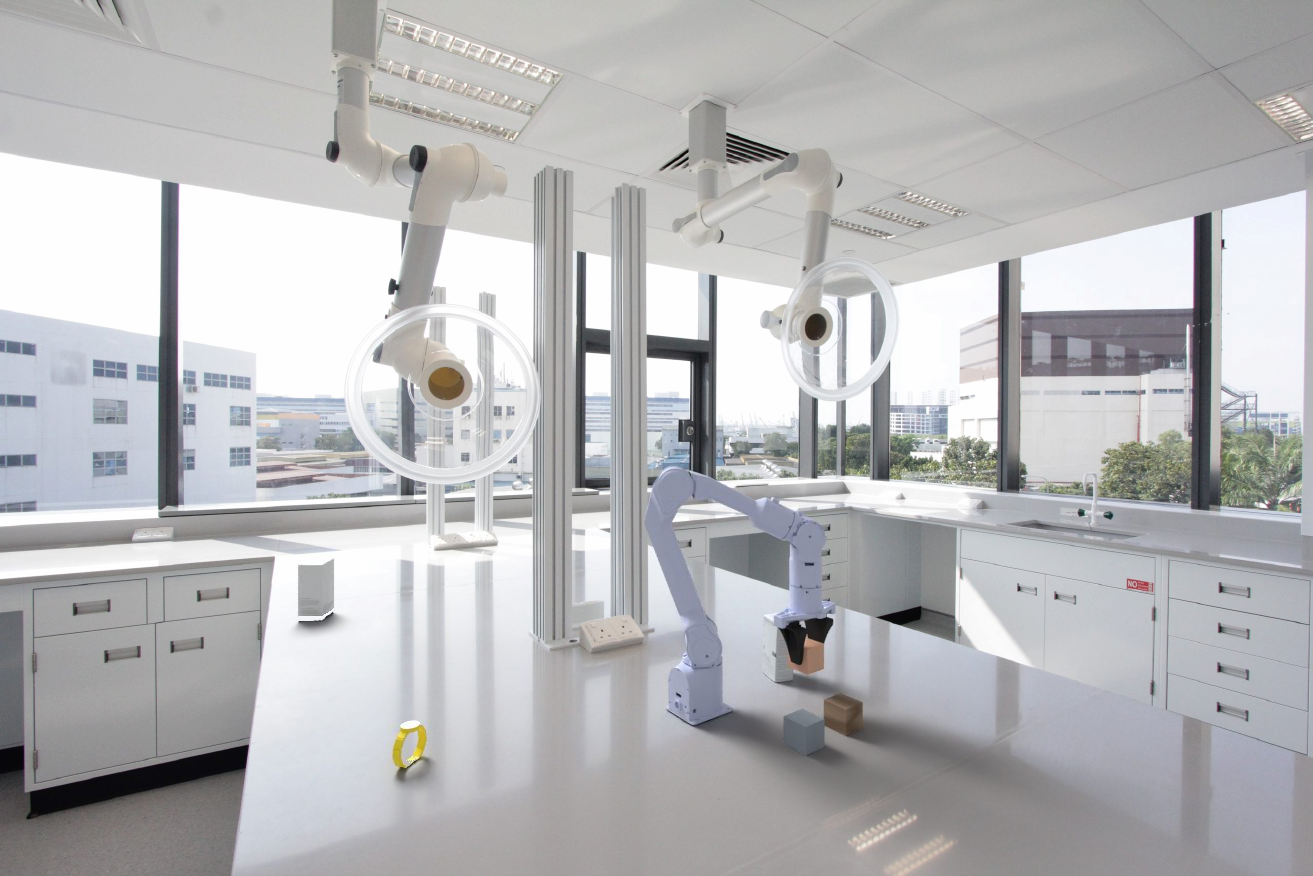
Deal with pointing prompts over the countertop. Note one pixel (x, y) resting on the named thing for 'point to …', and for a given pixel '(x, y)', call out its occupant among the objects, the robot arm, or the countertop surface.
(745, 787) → the countertop surface
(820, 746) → the slate block
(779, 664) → the skincare box
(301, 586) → the skincare box
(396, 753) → the watch
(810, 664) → the terracotta block
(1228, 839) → the countertop surface
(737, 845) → the countertop surface
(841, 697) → the walnut block
